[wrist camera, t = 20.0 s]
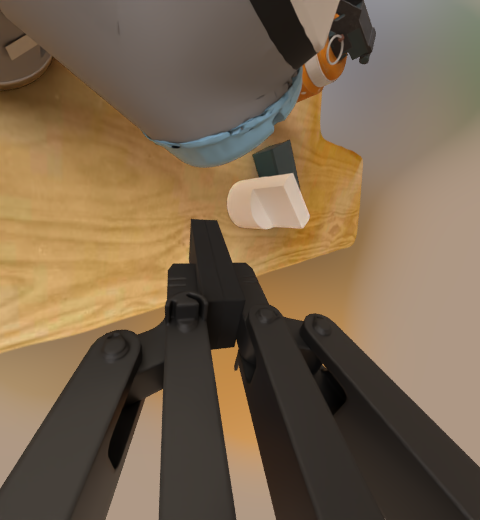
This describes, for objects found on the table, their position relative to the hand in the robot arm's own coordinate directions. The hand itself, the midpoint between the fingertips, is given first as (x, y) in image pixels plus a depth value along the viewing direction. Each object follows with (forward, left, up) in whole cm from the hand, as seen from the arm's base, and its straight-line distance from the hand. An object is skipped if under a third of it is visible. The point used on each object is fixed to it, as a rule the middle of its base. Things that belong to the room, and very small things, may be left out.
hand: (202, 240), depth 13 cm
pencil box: (+8, +31, -21) cm, 38 cm away
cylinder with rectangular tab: (+8, +23, -21) cm, 32 cm away
